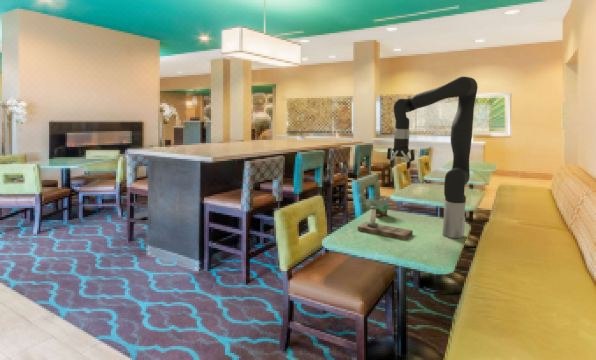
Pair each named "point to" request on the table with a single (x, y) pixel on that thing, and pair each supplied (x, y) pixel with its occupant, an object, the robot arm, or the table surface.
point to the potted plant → (381, 206)
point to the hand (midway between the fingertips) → (400, 168)
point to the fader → (373, 217)
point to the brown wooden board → (386, 231)
